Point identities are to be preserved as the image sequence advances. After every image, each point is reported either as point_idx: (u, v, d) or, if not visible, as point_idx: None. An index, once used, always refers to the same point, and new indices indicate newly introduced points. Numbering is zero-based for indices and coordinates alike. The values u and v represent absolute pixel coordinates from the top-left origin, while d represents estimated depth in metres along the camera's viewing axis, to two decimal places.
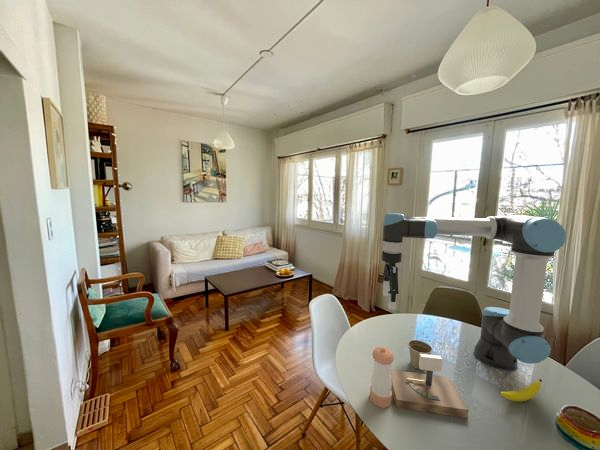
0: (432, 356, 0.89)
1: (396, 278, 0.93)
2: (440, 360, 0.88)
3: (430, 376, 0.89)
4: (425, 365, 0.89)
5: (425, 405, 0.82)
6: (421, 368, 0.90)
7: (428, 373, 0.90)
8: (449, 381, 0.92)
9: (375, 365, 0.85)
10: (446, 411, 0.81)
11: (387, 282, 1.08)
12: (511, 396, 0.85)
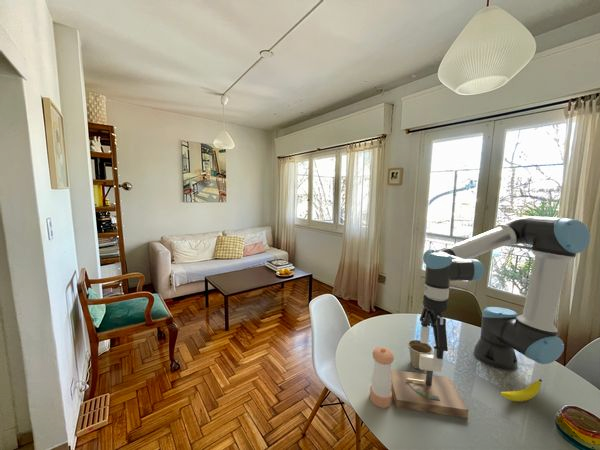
0: (432, 356, 0.89)
1: (444, 332, 0.80)
2: None
3: (430, 376, 0.89)
4: (425, 365, 0.89)
5: (425, 405, 0.82)
6: (421, 368, 0.90)
7: (428, 373, 0.90)
8: (449, 381, 0.92)
9: (375, 365, 0.85)
10: (446, 411, 0.81)
11: (426, 328, 0.95)
12: (511, 396, 0.85)
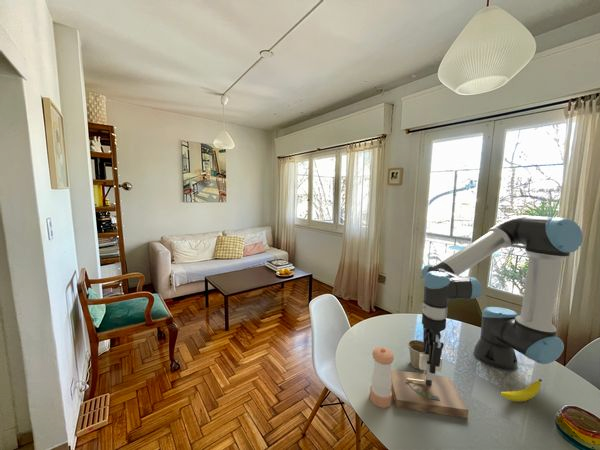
0: None
1: (439, 353, 0.84)
2: (440, 360, 0.88)
3: None
4: (425, 365, 0.89)
5: (425, 405, 0.82)
6: (421, 368, 0.90)
7: None
8: (449, 381, 0.92)
9: (375, 365, 0.85)
10: (446, 411, 0.81)
11: None
12: (511, 396, 0.85)
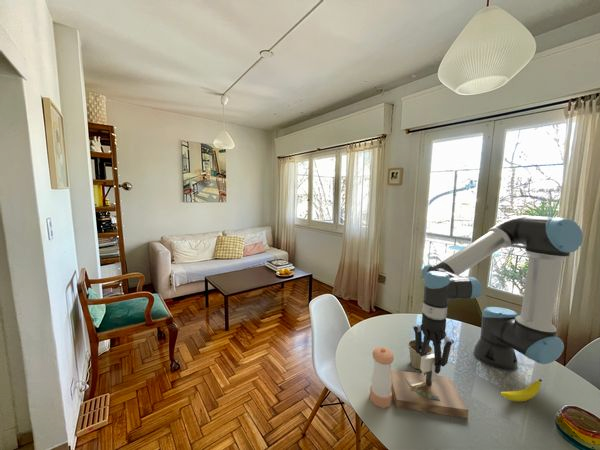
0: (432, 356, 0.90)
1: (449, 350, 0.85)
2: None
3: (431, 376, 0.89)
4: (427, 367, 0.88)
5: (425, 405, 0.82)
6: (424, 371, 0.88)
7: (429, 374, 0.89)
8: (449, 381, 0.92)
9: (375, 365, 0.85)
10: (446, 411, 0.81)
11: None
12: (511, 396, 0.85)
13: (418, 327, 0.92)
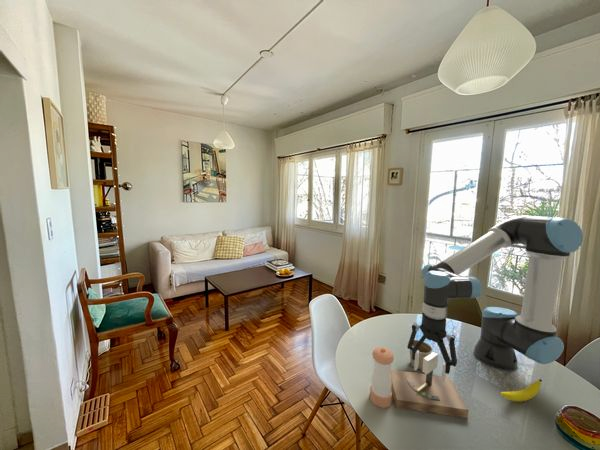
0: (431, 355, 0.90)
1: (454, 347, 0.85)
2: (437, 356, 0.90)
3: None
4: (430, 367, 0.88)
5: (425, 405, 0.82)
6: (427, 372, 0.87)
7: (430, 374, 0.89)
8: (449, 381, 0.92)
9: (375, 365, 0.85)
10: (446, 411, 0.81)
11: (418, 353, 0.92)
12: (511, 396, 0.85)
13: (417, 326, 0.91)
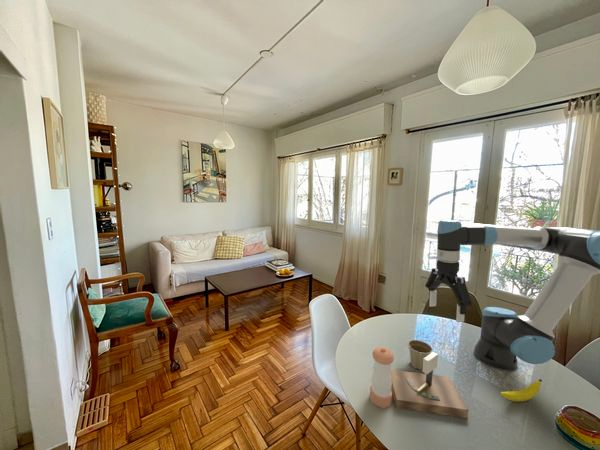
0: (431, 355, 0.90)
1: (465, 289, 0.88)
2: (437, 356, 0.91)
3: None
4: (430, 367, 0.88)
5: (425, 405, 0.82)
6: (428, 372, 0.87)
7: (430, 374, 0.89)
8: (449, 381, 0.92)
9: (375, 365, 0.85)
10: (446, 411, 0.81)
11: (434, 292, 1.03)
12: (511, 396, 0.85)
13: (436, 270, 1.00)
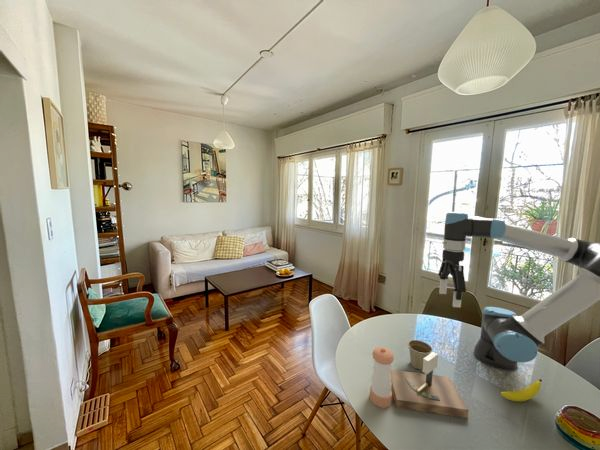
0: (431, 355, 0.90)
1: (462, 276, 0.94)
2: (437, 356, 0.91)
3: None
4: (430, 367, 0.88)
5: (425, 405, 0.82)
6: (428, 372, 0.87)
7: (430, 374, 0.89)
8: (449, 381, 0.92)
9: (375, 365, 0.85)
10: (446, 411, 0.81)
11: (444, 280, 1.09)
12: (511, 396, 0.85)
13: (445, 260, 1.07)
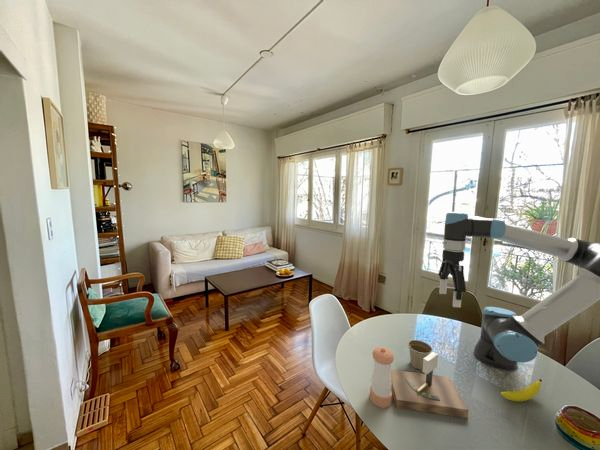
0: (431, 355, 0.90)
1: (462, 276, 0.94)
2: (437, 356, 0.91)
3: None
4: (430, 367, 0.88)
5: (425, 405, 0.82)
6: (428, 372, 0.87)
7: (430, 374, 0.89)
8: (449, 381, 0.92)
9: (375, 365, 0.85)
10: (446, 411, 0.81)
11: (444, 280, 1.09)
12: (511, 396, 0.85)
13: (445, 260, 1.07)
